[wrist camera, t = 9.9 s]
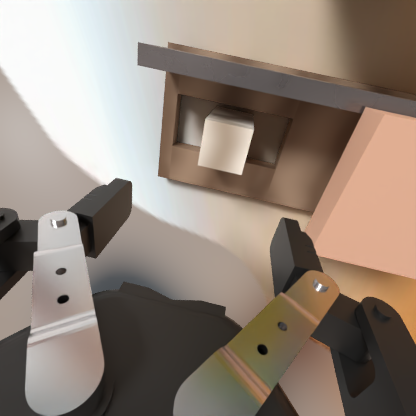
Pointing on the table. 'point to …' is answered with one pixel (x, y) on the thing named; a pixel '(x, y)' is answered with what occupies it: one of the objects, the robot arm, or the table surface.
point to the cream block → (226, 140)
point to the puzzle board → (273, 104)
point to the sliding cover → (372, 198)
